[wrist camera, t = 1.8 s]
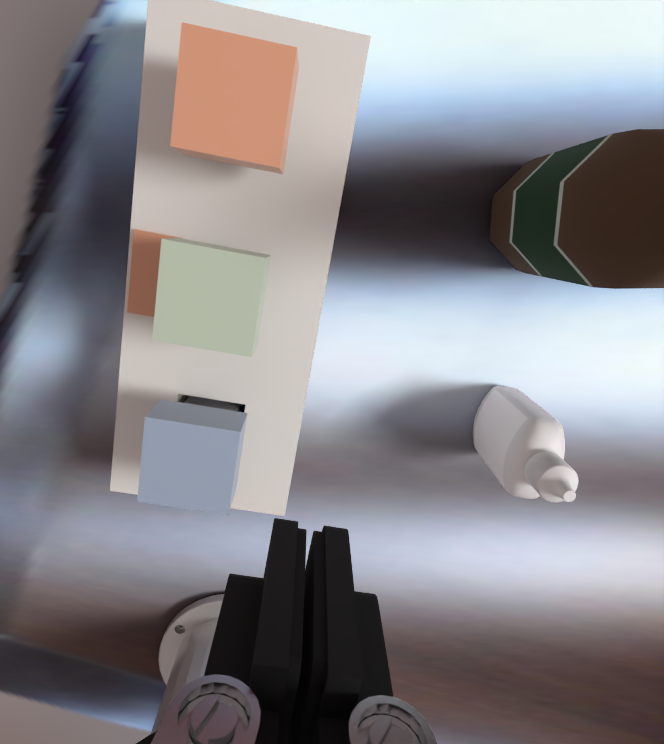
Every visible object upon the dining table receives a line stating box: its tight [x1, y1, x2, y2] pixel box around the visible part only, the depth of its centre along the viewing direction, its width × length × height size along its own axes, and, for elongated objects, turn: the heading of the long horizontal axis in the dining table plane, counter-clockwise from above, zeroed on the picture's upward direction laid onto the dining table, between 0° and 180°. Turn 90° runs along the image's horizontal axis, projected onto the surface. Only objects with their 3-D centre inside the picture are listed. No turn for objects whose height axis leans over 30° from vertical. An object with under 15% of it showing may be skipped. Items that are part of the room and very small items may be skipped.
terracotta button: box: [170, 22, 299, 174], centre depth 28 cm, size 5×5×8 cm
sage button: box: [152, 238, 271, 357], centre depth 30 cm, size 5×5×8 cm
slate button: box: [137, 396, 248, 515], centre depth 32 cm, size 5×5×8 cm
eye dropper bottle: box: [473, 385, 578, 502], centre depth 34 cm, size 4×6×12 cm
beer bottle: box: [490, 129, 664, 289], centre depth 24 cm, size 8×8×24 cm
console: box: [110, 0, 371, 516], centre depth 34 cm, size 30×12×5 cm, turn 170°
